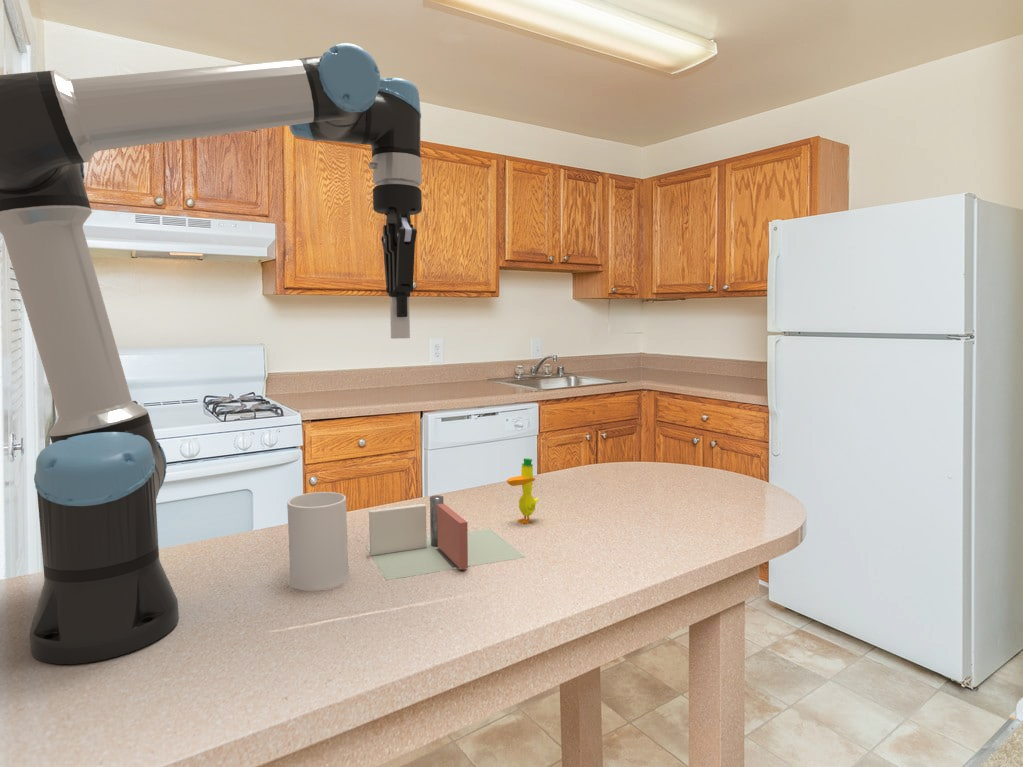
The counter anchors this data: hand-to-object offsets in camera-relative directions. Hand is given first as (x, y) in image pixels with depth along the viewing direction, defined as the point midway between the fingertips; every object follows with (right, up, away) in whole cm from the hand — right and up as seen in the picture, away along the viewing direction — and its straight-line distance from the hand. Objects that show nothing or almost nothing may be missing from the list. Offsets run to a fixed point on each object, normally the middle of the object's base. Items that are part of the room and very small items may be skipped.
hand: (400, 338), depth 103 cm
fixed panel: (0, -34, +1) cm, 34 cm away
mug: (-11, -36, -8) cm, 38 cm away
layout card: (+7, -35, +1) cm, 35 cm away
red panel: (+9, -34, -3) cm, 35 cm away
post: (+5, -34, +4) cm, 35 cm away
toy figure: (+20, -33, +15) cm, 42 cm away
